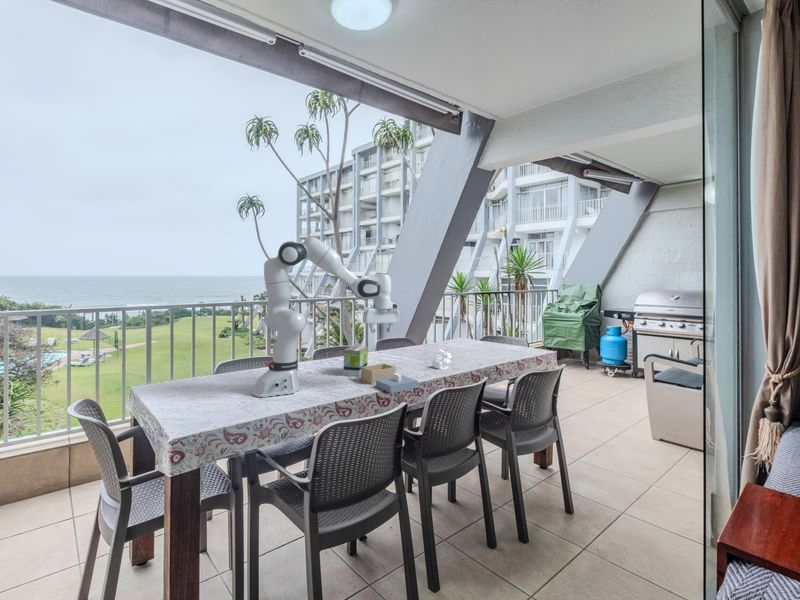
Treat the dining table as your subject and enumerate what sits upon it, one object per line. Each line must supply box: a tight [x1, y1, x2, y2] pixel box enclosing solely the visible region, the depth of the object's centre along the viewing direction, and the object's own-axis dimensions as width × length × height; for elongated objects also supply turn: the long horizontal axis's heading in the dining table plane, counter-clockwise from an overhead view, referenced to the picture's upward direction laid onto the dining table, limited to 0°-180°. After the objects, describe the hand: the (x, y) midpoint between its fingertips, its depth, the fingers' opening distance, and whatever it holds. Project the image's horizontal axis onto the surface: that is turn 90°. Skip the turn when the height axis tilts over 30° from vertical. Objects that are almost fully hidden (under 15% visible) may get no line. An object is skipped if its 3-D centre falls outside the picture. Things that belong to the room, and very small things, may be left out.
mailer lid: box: [375, 373, 419, 394], centre depth 197 cm, size 17×13×6 cm
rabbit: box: [431, 349, 452, 370], centre depth 239 cm, size 12×9×12 cm
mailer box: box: [360, 363, 397, 385], centre depth 211 cm, size 15×11×7 cm
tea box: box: [342, 345, 369, 377], centre depth 225 cm, size 15×10×15 cm, turn 168°
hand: (380, 332), depth 200 cm, fingers open, 8 cm apart
